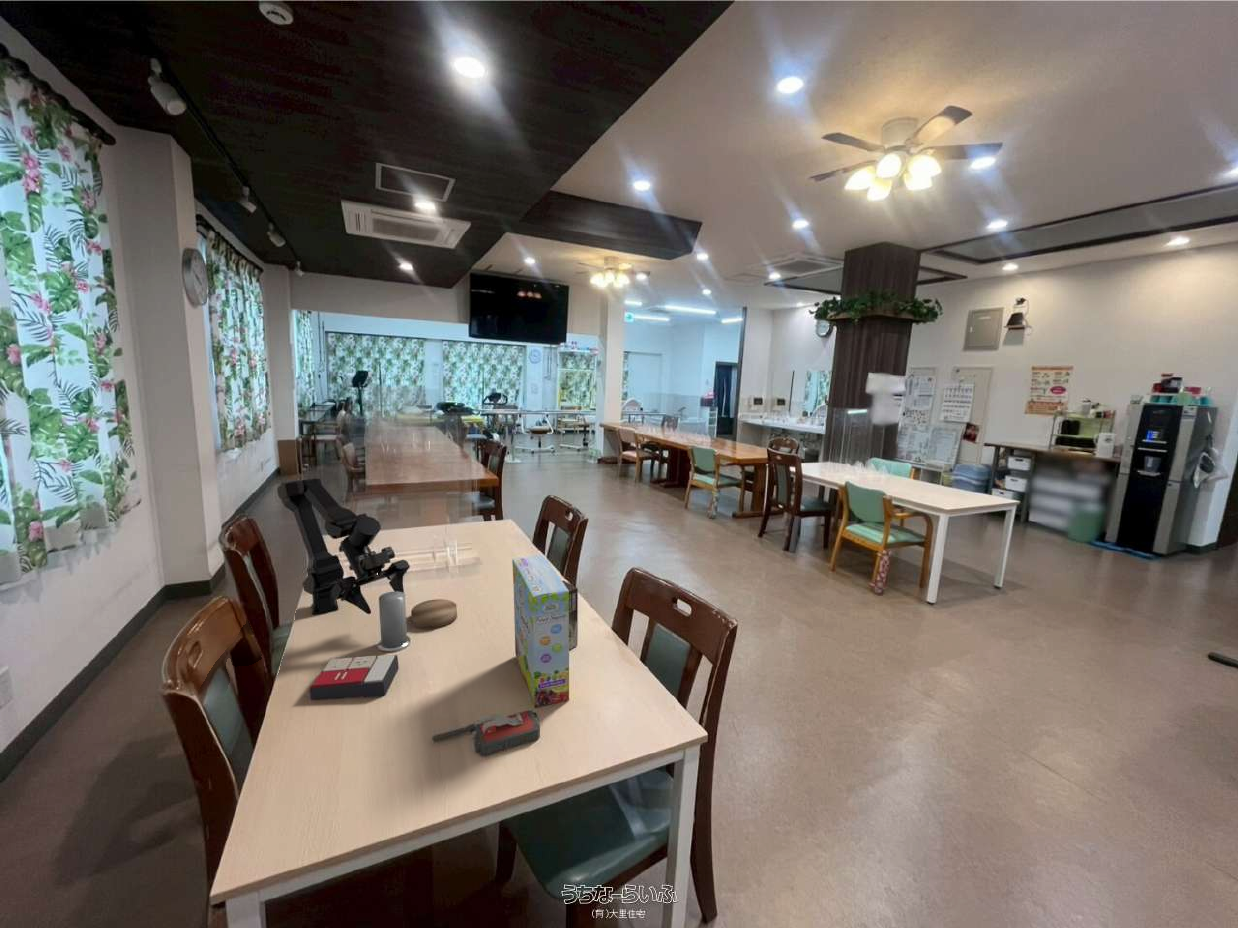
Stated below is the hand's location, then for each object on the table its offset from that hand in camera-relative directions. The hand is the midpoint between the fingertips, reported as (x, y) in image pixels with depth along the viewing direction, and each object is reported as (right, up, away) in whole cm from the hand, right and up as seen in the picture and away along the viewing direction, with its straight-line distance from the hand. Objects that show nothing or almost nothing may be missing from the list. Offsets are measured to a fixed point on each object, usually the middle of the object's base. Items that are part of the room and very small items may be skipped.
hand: (387, 606), depth 130 cm
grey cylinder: (+2, -10, +1) cm, 10 cm away
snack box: (+40, -13, -11) cm, 44 cm away
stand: (+7, -7, +14) cm, 18 cm away
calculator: (0, -13, -16) cm, 21 cm away
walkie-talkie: (+34, -17, -31) cm, 49 cm away
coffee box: (+43, -11, +2) cm, 44 cm away
